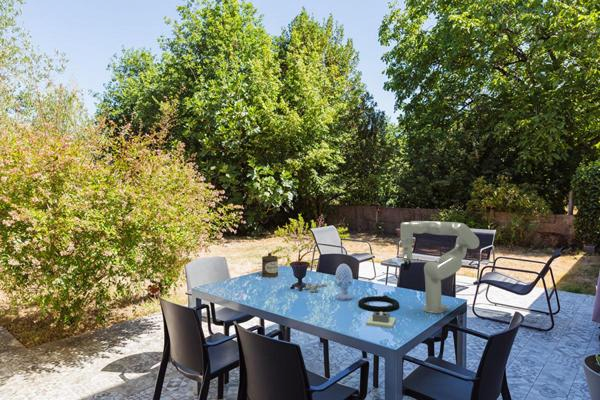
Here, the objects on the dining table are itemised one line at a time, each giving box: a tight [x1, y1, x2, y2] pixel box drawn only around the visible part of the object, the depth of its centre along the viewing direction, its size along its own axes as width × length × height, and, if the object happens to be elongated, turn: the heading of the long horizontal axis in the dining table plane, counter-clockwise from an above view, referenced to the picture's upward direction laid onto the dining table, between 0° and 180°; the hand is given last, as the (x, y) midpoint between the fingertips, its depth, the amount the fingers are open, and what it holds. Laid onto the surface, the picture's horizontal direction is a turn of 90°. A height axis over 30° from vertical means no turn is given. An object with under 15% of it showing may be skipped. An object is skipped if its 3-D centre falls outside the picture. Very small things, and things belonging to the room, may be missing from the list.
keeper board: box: [365, 312, 397, 329], centre depth 221 cm, size 15×14×6 cm
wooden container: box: [261, 252, 279, 279], centre depth 353 cm, size 15×15×22 cm
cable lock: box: [357, 294, 400, 313], centre depth 255 cm, size 28×4×30 cm
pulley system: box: [305, 283, 328, 294], centre depth 304 cm, size 27×5×15 cm
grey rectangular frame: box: [372, 311, 391, 323], centre depth 221 cm, size 9×6×4 cm, turn 68°
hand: (407, 268), depth 238 cm, fingers open, 9 cm apart
